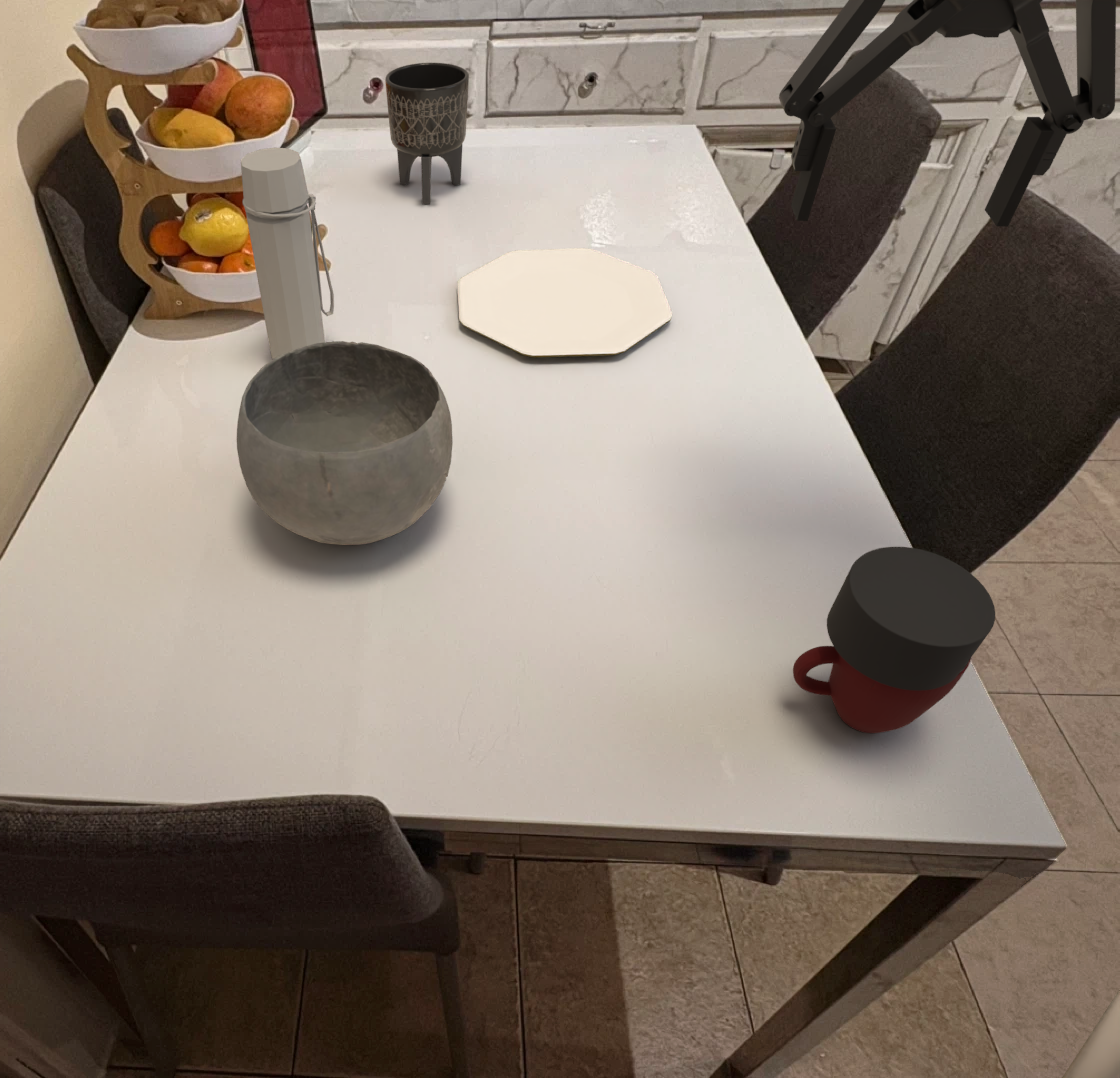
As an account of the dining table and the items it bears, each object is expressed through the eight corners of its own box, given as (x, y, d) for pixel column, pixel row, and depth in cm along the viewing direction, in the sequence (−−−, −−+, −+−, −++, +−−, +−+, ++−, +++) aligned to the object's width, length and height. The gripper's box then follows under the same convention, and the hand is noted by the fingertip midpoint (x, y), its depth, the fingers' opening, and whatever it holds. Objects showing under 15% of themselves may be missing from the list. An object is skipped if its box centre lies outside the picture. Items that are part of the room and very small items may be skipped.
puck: (978, 629, 61) (1011, 583, 57) (942, 713, 56) (975, 669, 53) (851, 574, 65) (874, 528, 61) (807, 648, 60) (829, 603, 57)
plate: (685, 361, 103) (687, 350, 102) (461, 366, 105) (461, 356, 104) (644, 255, 123) (646, 245, 122) (455, 261, 124) (455, 251, 123)
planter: (465, 206, 137) (467, 89, 124) (386, 206, 138) (380, 90, 126) (469, 174, 146) (470, 61, 133) (395, 174, 147) (390, 62, 135)
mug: (795, 757, 65) (837, 683, 58) (765, 672, 71) (800, 594, 64) (934, 756, 65) (993, 681, 58) (893, 670, 70) (942, 592, 63)
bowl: (458, 580, 80) (459, 458, 69) (243, 588, 80) (212, 469, 69) (446, 443, 94) (445, 325, 84) (264, 451, 95) (241, 335, 84)
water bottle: (285, 382, 104) (250, 179, 86) (261, 352, 109) (224, 154, 91) (351, 360, 107) (331, 159, 89) (325, 332, 112) (302, 136, 94)
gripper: (1254, -172, 48) (1061, 198, 63) (793, -156, 51) (715, 190, 66) (1334, -153, 43) (1103, 244, 58) (815, -138, 46) (725, 233, 61)
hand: (895, 216), depth 62 cm, fingers open, 13 cm apart
